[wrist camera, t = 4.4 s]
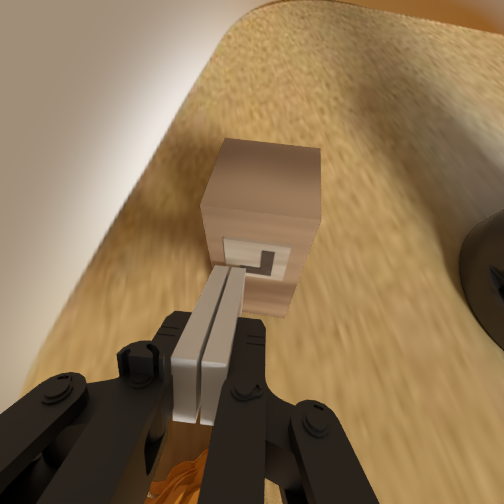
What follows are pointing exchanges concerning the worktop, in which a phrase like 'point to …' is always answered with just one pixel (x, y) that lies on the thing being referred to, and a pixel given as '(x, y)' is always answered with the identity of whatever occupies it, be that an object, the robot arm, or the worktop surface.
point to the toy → (180, 483)
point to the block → (263, 217)
